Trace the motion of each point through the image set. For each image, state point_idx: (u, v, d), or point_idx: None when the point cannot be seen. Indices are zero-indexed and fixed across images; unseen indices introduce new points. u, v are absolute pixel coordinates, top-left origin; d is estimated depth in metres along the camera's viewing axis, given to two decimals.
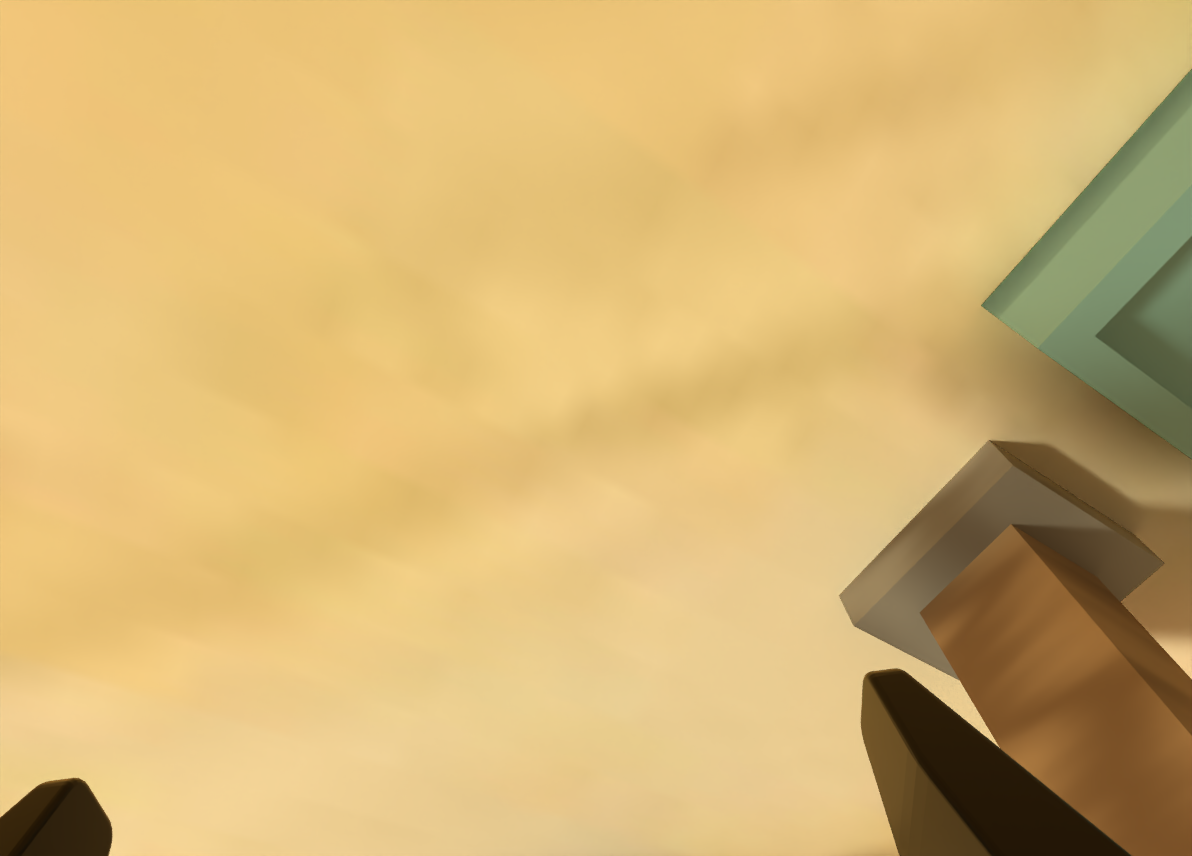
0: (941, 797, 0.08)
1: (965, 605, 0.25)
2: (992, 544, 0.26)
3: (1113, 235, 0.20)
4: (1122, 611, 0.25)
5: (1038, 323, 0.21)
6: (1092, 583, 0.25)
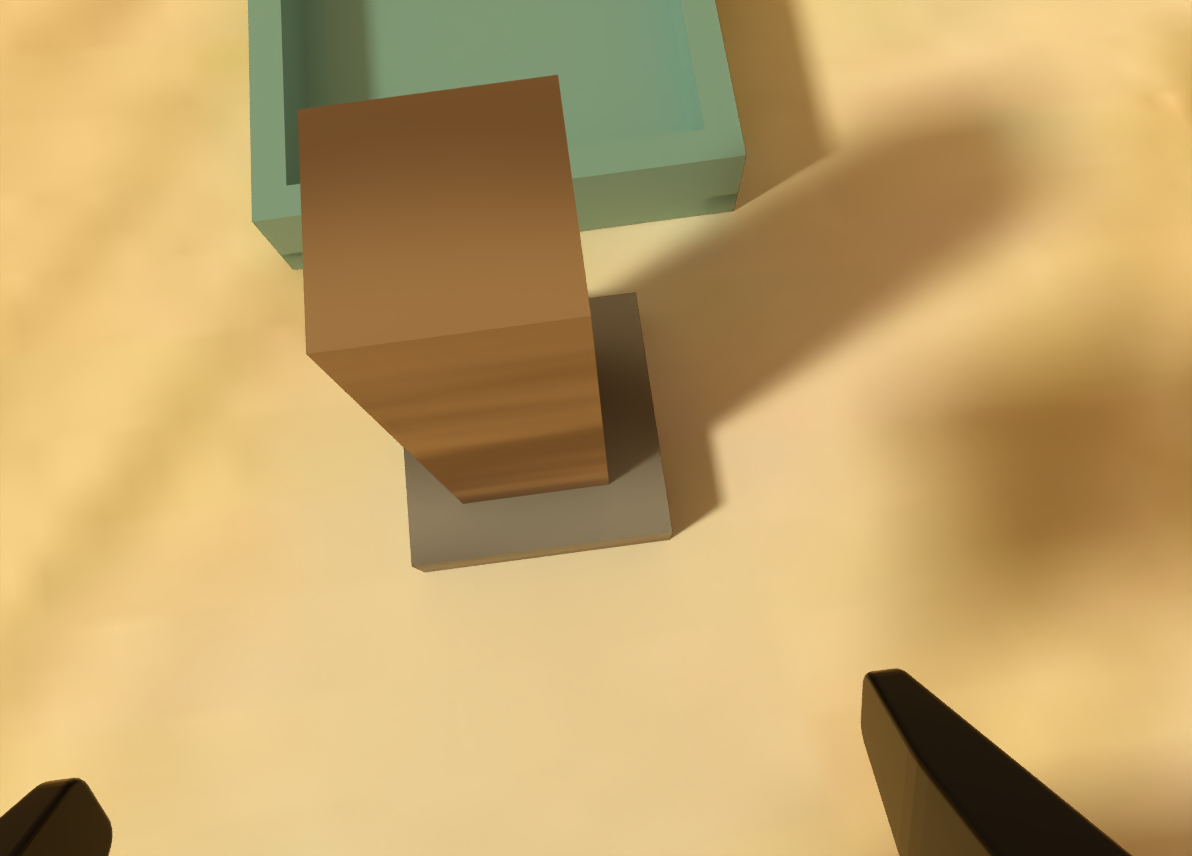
0: (941, 797, 0.08)
1: None
2: None
3: None
4: None
5: None
6: None
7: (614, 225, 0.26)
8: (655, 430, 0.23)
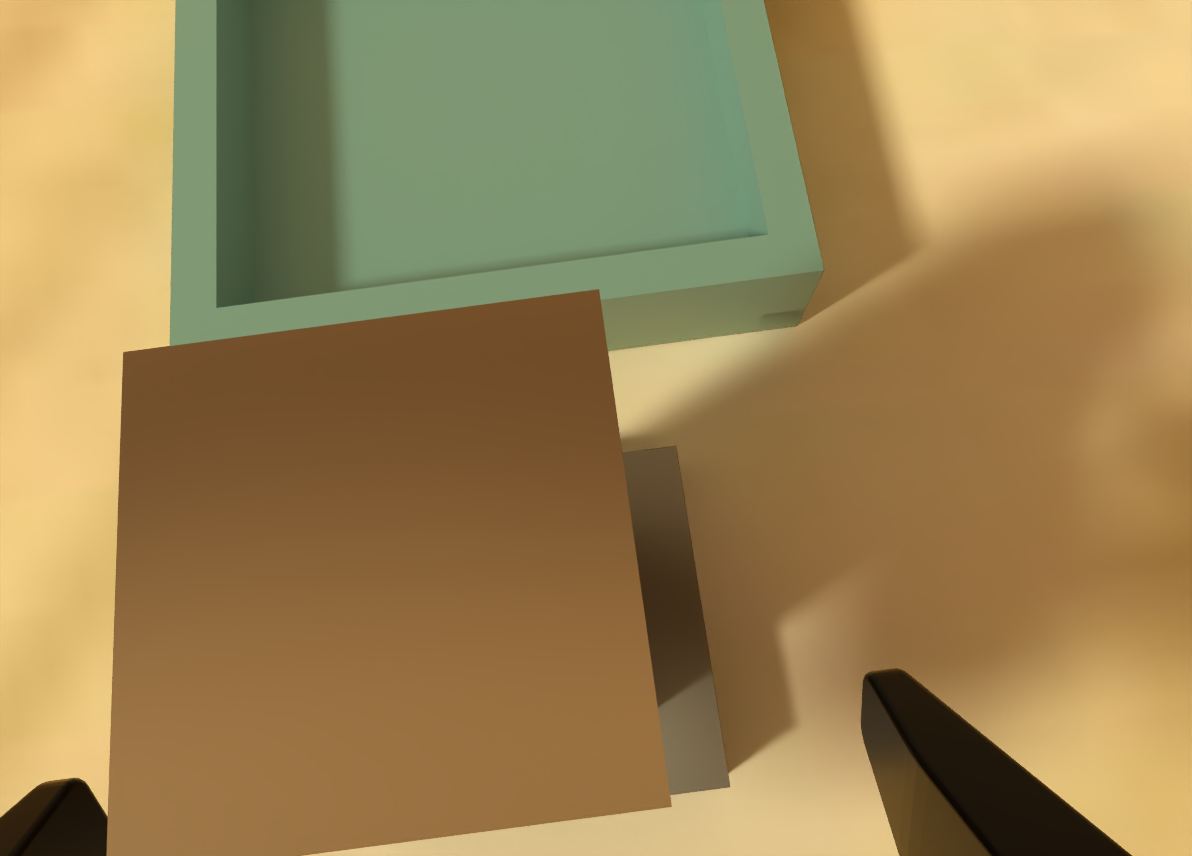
0: (941, 797, 0.08)
1: None
2: None
3: None
4: None
5: None
6: None
7: (644, 345, 0.21)
8: (705, 640, 0.17)
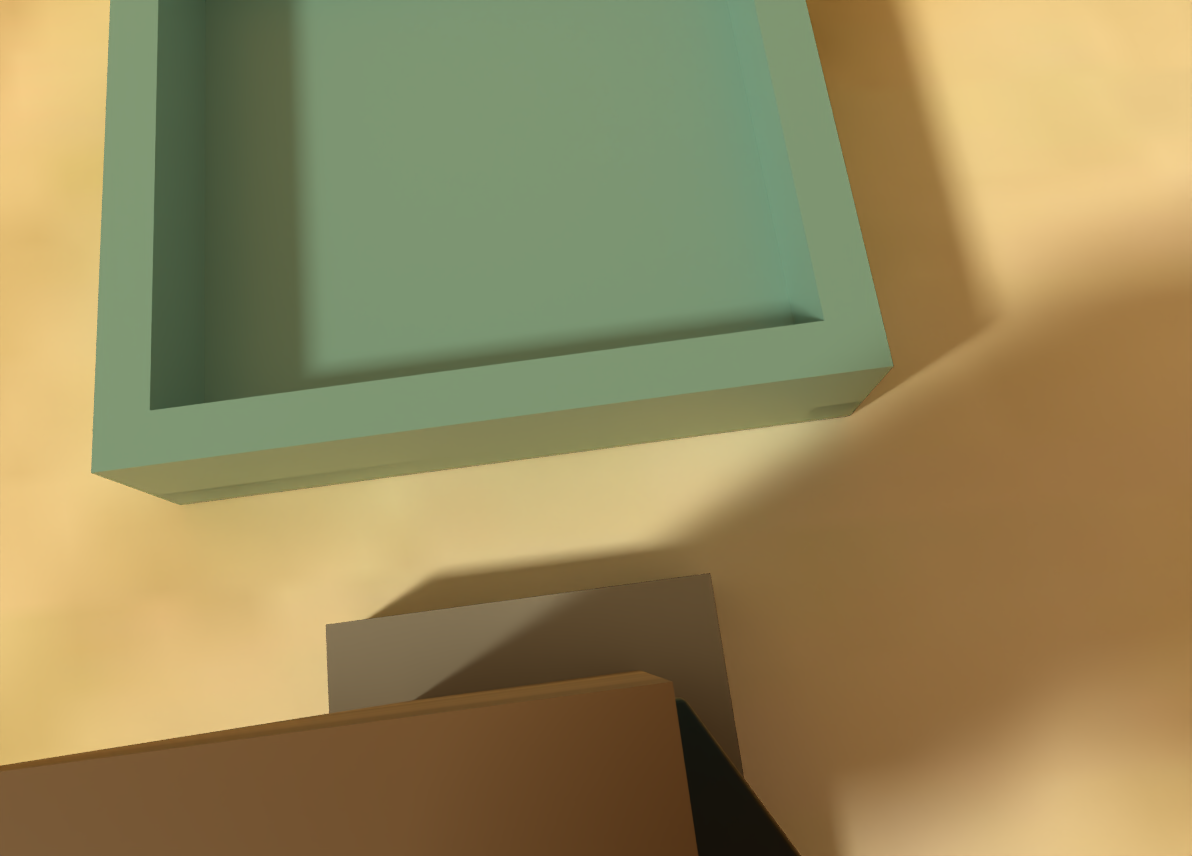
0: None
1: None
2: None
3: None
4: (597, 676, 0.13)
5: None
6: None
7: (668, 439, 0.17)
8: None
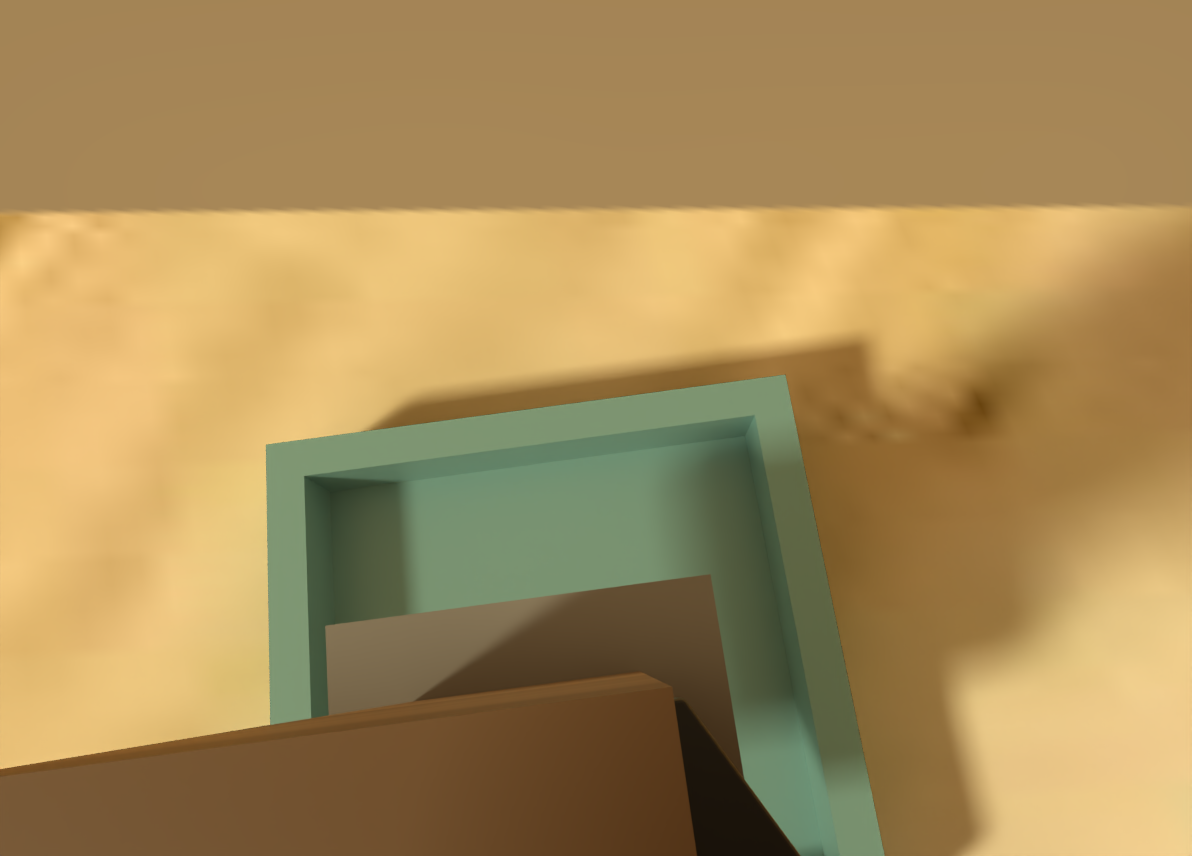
0: None
1: None
2: None
3: None
4: None
5: None
6: None
7: None
8: None
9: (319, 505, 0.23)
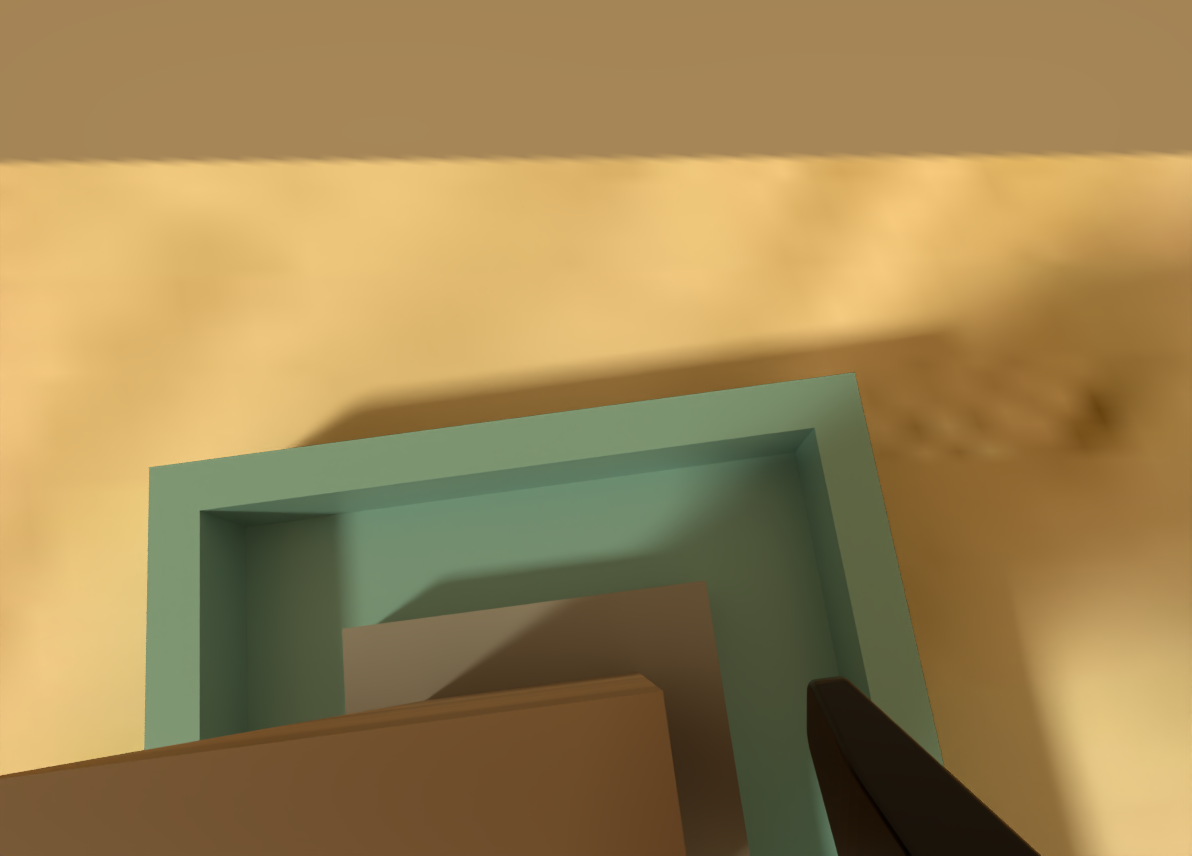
0: (871, 806, 0.08)
1: None
2: None
3: None
4: (598, 678, 0.14)
5: None
6: (572, 681, 0.15)
7: None
8: (741, 817, 0.15)
9: (226, 547, 0.17)
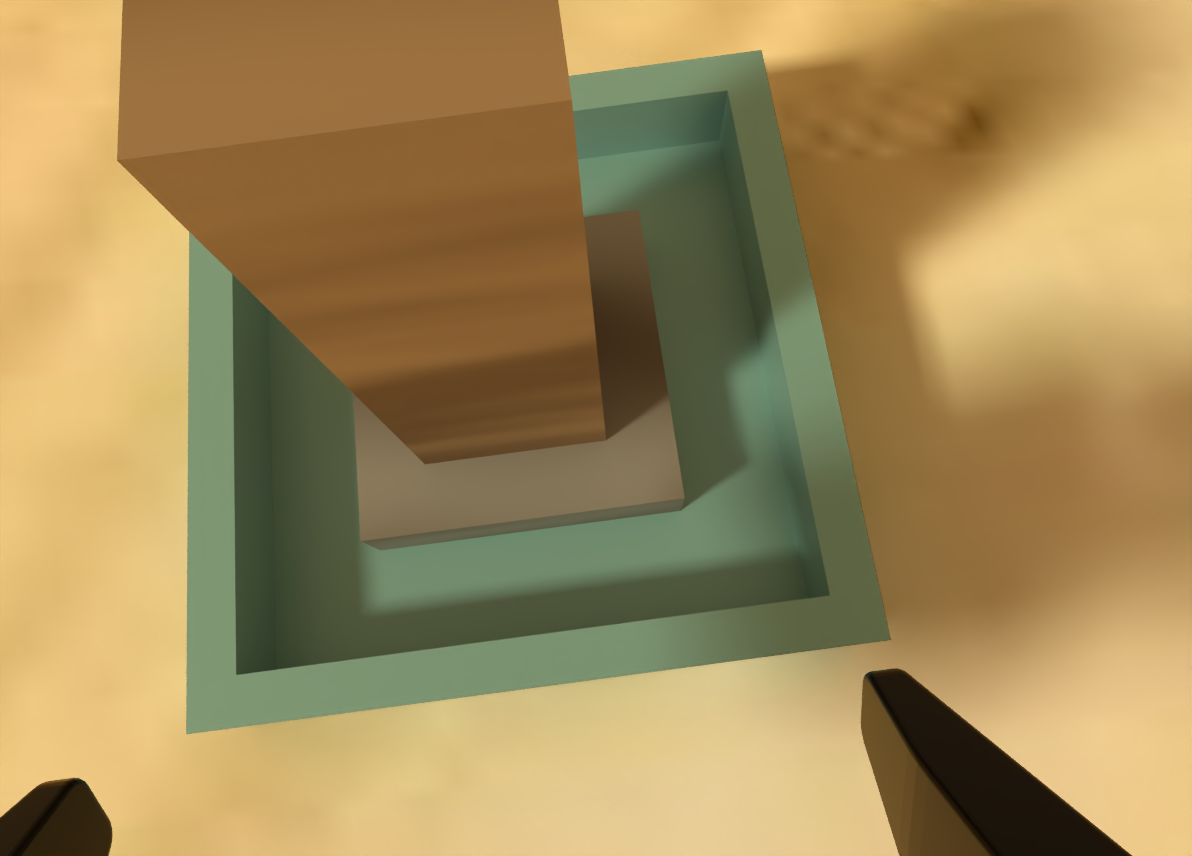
0: (941, 797, 0.08)
1: None
2: None
3: None
4: None
5: None
6: None
7: None
8: (663, 374, 0.19)
9: None
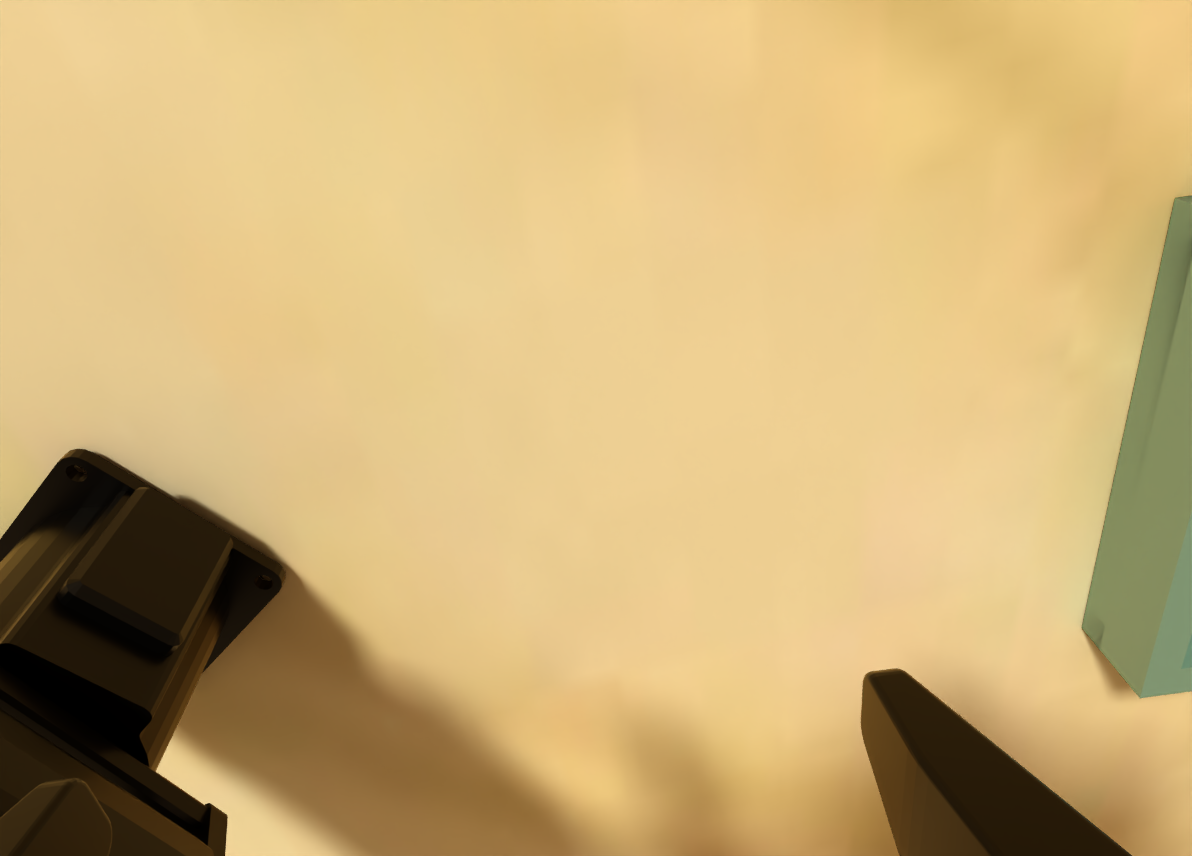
0: (941, 797, 0.08)
1: None
2: None
3: None
4: None
5: None
6: None
7: (1103, 536, 0.25)
8: None
9: None
